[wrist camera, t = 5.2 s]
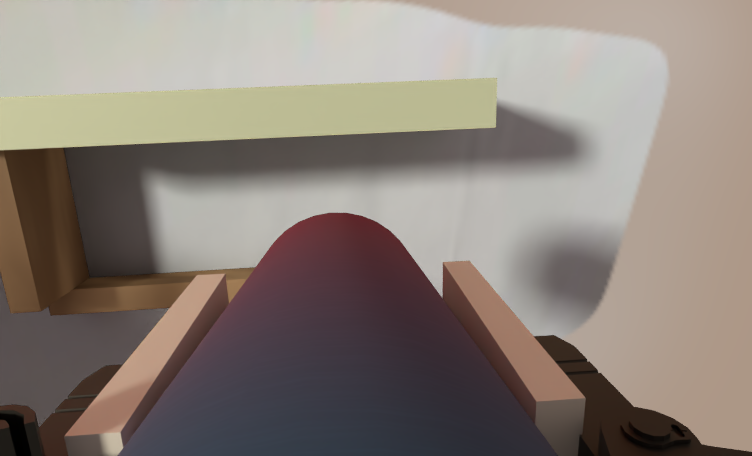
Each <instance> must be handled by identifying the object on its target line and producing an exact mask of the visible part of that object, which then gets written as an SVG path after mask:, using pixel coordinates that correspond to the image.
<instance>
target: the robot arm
mask: <svg viewBox="0 0 752 456" xmlns="http://www.w3.org/2000/svg"><path fill="white" fill-rule="evenodd" d="M443 300H444V301H445V303H446V304H447V305H448V307H449V308H450V309H451V311H452V312H453V314H454V315H455V316H456V318H457V319H458V320H459V322H460V323H461V324H462V326H463V327H464V328H465V330H466V331H467V333H468V334H469V335H470V337H471V338H472V339H473V341H474V342H475V343H476V345H477V346H478V347H479V349H480V350H481V352H482V353H483V354H484V356H485V357H486V358H487V360H488V361H489V362H490V364H491V365H492V366H493V368H494V369H495V371H496V372H497V373H498V375H499V376H500V377H501V379H502V380H503V381H504V383H505V384H506V385H507V387H508V388H509V390H510V391H511V392H512V394H513V395H514V396H515V398H516V399H517V400H518V402H519V403H520V404H521V406H522V407H523V409H524V410H525V411H526V413H527V414H528V415H529V417H530V418H531V419H532V421H533V422H534V424H535V425H536V426H537V428H538V429H539V430H540V432H541V433H542V434H543V436H544V437H545V438H546V440H547V441H548V443H549V444H550V445H551V447H552V448H553V449H554V451H555V452H556V453H557V455H558V456H752V452H748V451H741V450H734V449H727V448H720V447H713V446H707V445H702V444H701V443H700V442H699V440H698V439H697V437H696V436H695V435H694V434H693V433H692V432H691V431H690V430H689V429H688V428H687V427H686V426H684V425H683V424H681V423H679V422H678V421H676V420H675V419H673V418H671V417H668V416H666V415H664V414H661V413H658V412H656V411H652V410H648V409H643V408H638V407H633V406H632V405H631V403H630V402H629V401H628V400H626V398H625V397H624V396H623V395H622V394H621V393H620V392H618V390H617V389H616V388H615V387H614V386H613V385H612V384H611V383H610V382H609V381H608V380H607V379H606V378H605V377H604V376H603V375H602V374H601V373H598V370H597V369H596V368H595V367H594V366H593V365H592V364H591V363H590V362H587V359H586V358H585V357H584V356H583V355H582V354H581V353H580V352H579V351H578V350H577V349H576V348H575V347H574V346H573V345H571V344H570V343H568V342H565V341H564V340H562V339H560V338H558V337H556V336H554V335H549V336H533V335H532V334H531V333H530V332H529V330H528V329H527V328H526V327H525V326H524V325H523V323H522V322H521V321H520V320H519V319H518V318H517V316H516V315H515V314H514V313H513V312H512V310H511V309H510V308H509V307H508V306H507V305H506V303H505V302H504V301H503V300H502V299H501V297H500V296H499V295H498V294H497V293H496V292H495V290H494V289H493V288H492V287H491V286H490V284H489V283H488V282H487V281H486V280H485V279H484V277H483V276H482V275H481V274H480V273H479V271H478V270H477V269H476V268H475V267H474V266H473V264H472V263H471V262H470V261H456V262H443ZM228 304H229V300H228V292H227V283H226V274H208V275H197V276H196V277H195V278H194V279H193V281H192V282H191V283H190V284H189V285H188V287H187V288H186V289H185V290H184V292H183V293H182V294H181V295H180V296H179V298H178V299H177V300H176V301H175V302H174V304H173V305H172V306H171V307H170V308H169V310H168V311H167V312H166V313H165V315H164V316H163V317H162V318H161V319H160V321H159V322H158V323H157V324H156V325H155V327H154V328H153V329H152V330H151V332H150V333H149V334H148V335H147V336H146V338H145V339H144V340H143V341H142V342H141V344H140V345H139V346H138V347H137V349H136V350H135V351H134V352H133V353H132V355H131V356H130V357H129V358H128V359H127V361H126V362H125V363H124V364H123V365H109V366H105V367H103V368H101V369H100V370H98V371H97V372H95V373H93V374H92V375H90V376H89V377H87V378H85V379H84V380H83V381H82V382H81V383H80V384H79V385H78V386H77V387H76V388H75V389H74V390H73V391H72V392H71V394H70V395H69V396H68V399H65V400H64V401H63V402H62V403H61V404H60V405H59V407H58V408H57V409H56V410H55V413H52V414H51V415H50V416H49V417H48V418H47V420H46V421H45V422H44V423H43V424H42V425H41V426H40V427H38V423H37V418H36V414H35V412H34V411H33V410H32V409H30V408H29V407H28V406H21V405H5V406H0V456H118V454H119V453H120V452H121V450H122V449H123V447H124V446H125V445H126V443H127V442H128V441H129V439H130V438H131V437H132V435H133V434H134V432H135V431H136V430H137V428H138V427H139V426H140V424H141V423H142V422H143V420H144V419H145V417H146V416H147V415H148V413H149V412H150V411H151V409H152V408H153V407H154V405H155V404H156V402H157V401H158V400H159V398H160V397H161V396H162V394H163V393H164V392H165V390H166V389H167V388H168V386H169V385H170V383H171V382H172V381H173V379H174V378H175V377H176V375H177V374H178V373H179V371H180V370H181V368H182V367H183V366H184V364H185V363H186V362H187V360H188V359H189V358H190V356H191V355H192V353H193V352H194V351H195V349H196V348H197V347H198V345H199V344H200V343H201V341H202V340H203V338H204V337H205V336H206V334H207V333H208V332H209V330H210V329H211V328H212V326H213V325H214V323H215V322H216V321H217V319H218V318H219V317H220V315H221V314H222V313H223V311H224V310H225V309H226V307H227V306H228Z"/></svg>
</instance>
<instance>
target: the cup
mask: <svg viewBox="0 0 752 456" xmlns="http://www.w3.org/2000/svg"><path fill="white" fill-rule="evenodd" d="M118 456H558V455H557V453H556V452H555V451H554V449H553V448H552V447H551V445H550V444H549V443H548V441H547V440H546V438H545V437H544V436H543V434H542V433H541V432H540V430H539V429H538V428H537V426H536V425H535V424H534V422H533V421H532V419H531V418H530V417H529V415H528V414H527V413H526V411H525V410H524V409H523V407H522V406H521V404H520V403H519V402H518V400H517V399H516V398H515V396H514V395H513V394H512V392H511V391H510V390H509V388H508V387H507V385H506V384H505V383H504V381H503V380H502V379H501V377H500V376H499V375H498V373H497V372H496V371H495V369H494V368H493V366H492V365H491V364H490V362H489V361H488V360H487V358H486V357H485V356H484V354H483V353H482V352H481V350H480V349H479V347H478V346H477V345H476V343H475V342H474V341H473V339H472V338H471V337H470V335H469V334H468V333H467V331H466V330H465V328H464V327H463V326H462V324H461V323H460V322H459V320H458V319H457V318H456V316H455V315H454V314H453V312H452V311H451V309H450V308H449V307H448V305H447V304H446V303H445V301H444V300H443V299H442V297H441V296H440V295H439V293H438V292H437V290H436V289H435V288H434V286H433V285H432V284H431V282H430V281H429V280H428V278H427V277H426V275H425V274H424V273H423V271H422V270H421V269H420V267H419V266H418V265H417V263H416V262H415V261H414V259H413V258H412V256H411V255H410V254H409V252H408V251H407V250H406V248H405V247H404V246H403V244H402V243H401V242H400V240H399V239H398V238H397V237H396V236H395V235H394V234H393V233H392V232H391V231H389V230H388V229H386V228H385V227H383V226H382V225H380V224H379V223H377V222H375V221H373V220H371V219H368V218H366V217H363V216H359V215H354V214H349V213H327V214H322V215H316V216H313V217H310V218H308V219H305V220H303V221H300V222H298V223H297V224H295V225H294V226H292V227H291V228H289V229H288V230H286V231H285V232H284V233H283V234H282V235H281V236H280V237H279V238H278V239H277V240H276V241H275V242H274V243H273V245H272V246H271V247H270V249H269V250H268V251H267V253H266V254H265V255H264V257H263V258H262V259H261V261H260V262H259V264H258V265H257V266H256V268H255V269H254V270H253V272H252V273H251V274H250V276H249V277H248V279H247V280H246V281H245V283H244V284H243V285H242V287H241V288H240V289H239V291H238V292H237V294H236V295H235V296H234V298H233V299H232V300H231V302H230V303H229V304H228V306H227V307H226V309H225V310H224V311H223V313H222V314H221V315H220V317H219V318H218V319H217V321H216V322H215V323H214V325H213V326H212V328H211V329H210V330H209V332H208V333H207V334H206V336H205V337H204V338H203V340H202V341H201V343H200V344H199V345H198V347H197V348H196V349H195V351H194V352H193V353H192V355H191V356H190V358H189V359H188V360H187V362H186V363H185V364H184V366H183V367H182V368H181V370H180V371H179V373H178V374H177V375H176V377H175V378H174V379H173V381H172V382H171V383H170V385H169V386H168V388H167V389H166V390H165V392H164V393H163V394H162V396H161V397H160V398H159V400H158V401H157V402H156V404H155V405H154V407H153V408H152V409H151V411H150V412H149V413H148V415H147V416H146V417H145V419H144V420H143V422H142V423H141V424H140V426H139V427H138V428H137V430H136V431H135V432H134V434H133V435H132V437H131V438H130V439H129V441H128V442H127V443H126V445H125V446H124V447H123V449H122V450H121V452H120V453H119V454H118Z"/></svg>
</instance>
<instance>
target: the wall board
mask: <svg viewBox="0 0 752 456" xmlns="http://www.w3.org/2000/svg"><path fill="white" fill-rule="evenodd" d="M496 99H497V78H482V79H457V80H432V81H406V82H381V83H355V84H330V85H305V86H279V87H254V88H228V89H203V90H178V91H152V92H127V93H102V94H76V95H51V96H25V97H0V150H18V149H40V148H62V147H84V146H105V145H127V144H149V143H171V142H193V141H214V140H236V139H258V138H280V137H302V136H323V135H345V134H367V133H389V132H411V131H432V130H454V129H476V128H496Z"/></svg>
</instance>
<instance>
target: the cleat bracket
mask: <svg viewBox="0 0 752 456" xmlns="http://www.w3.org/2000/svg"><path fill="white" fill-rule="evenodd" d="M255 268H256V267H255ZM255 268H239V269H223V270H207V271H191V272H175V273H159V274H143V275H126V276H110V277H94V278H89V273H88V268H87V263H86V258H85V253H84V248H83V243H82V238H81V233H80V228H79V223H78V218H77V213H76V208H75V203H74V198H73V193H72V188H71V184H70V179H69V174H68V169H67V164H66V159H65V154H64V149H63V147H62V148H40V149H18V150H0V273H1V277H2V281H3V285H4V289H5V293H6V297H7V301H8V305H9V309H10V313H24V312H39V311H42V310H44V309H45V308H47V307H48V306H49V311H50V315H51V316H52V315H67V314H82V313H97V312H112V311H127V310H142V309H157V308H170V307H171V306H172V305H173V304H174V302H175V301H176V300H177V299H178V298H179V296H180V295H181V294H182V293H183V292H184V290H185V289H186V288H187V287H188V285H189V284H190V283H191V282H192V281H193V279H194V278H195V277H196V276H197V275H208V274H226V283H227V292H228V300H229V303H230V302H231V300H232V299H233V298H234V296H235V295H236V294H237V292H238V291H239V289H240V288H241V287H242V285H243V284H244V283H245V281H246V280H247V279H248V277H249V276H250V274H251V273H252V272H253V270H254V269H255Z"/></svg>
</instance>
